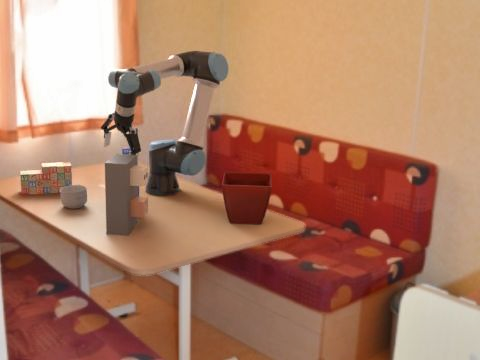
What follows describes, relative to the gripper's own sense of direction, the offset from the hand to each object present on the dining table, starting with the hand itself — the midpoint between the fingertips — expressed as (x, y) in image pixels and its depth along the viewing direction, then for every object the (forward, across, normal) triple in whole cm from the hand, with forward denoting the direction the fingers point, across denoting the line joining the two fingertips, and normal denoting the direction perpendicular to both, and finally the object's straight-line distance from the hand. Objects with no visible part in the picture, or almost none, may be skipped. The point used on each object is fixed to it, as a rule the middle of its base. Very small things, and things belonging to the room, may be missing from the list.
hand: (118, 154), depth 261 cm
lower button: (+2, +28, -18) cm, 33 cm away
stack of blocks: (+34, -27, -12) cm, 45 cm away
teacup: (+23, -5, -16) cm, 29 cm away
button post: (+8, +26, -22) cm, 35 cm away
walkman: (+42, -21, +36) cm, 59 cm away
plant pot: (+5, +56, +17) cm, 58 cm away
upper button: (-9, +23, -16) cm, 29 cm away
